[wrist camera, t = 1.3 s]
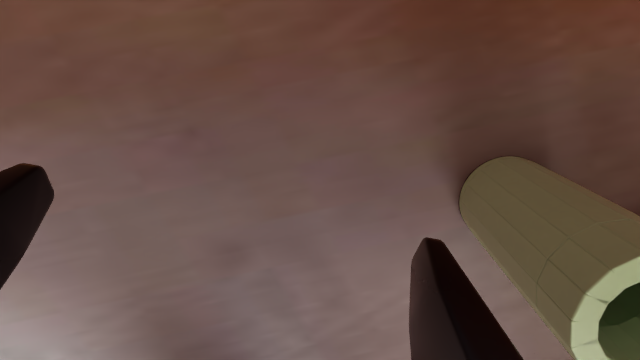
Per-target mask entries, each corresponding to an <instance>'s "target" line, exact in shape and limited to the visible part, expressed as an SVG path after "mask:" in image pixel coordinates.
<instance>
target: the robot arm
mask: <svg viewBox="0 0 640 360" xmlns="http://www.w3.org/2000/svg"><path fill="white" fill-rule="evenodd" d="M53 198H54V190H53V188H52V186H51V183H50V181H49V179H48V176H47V174H46V172H45V170H44V169H43V168H42V167H41V166H37V165H32V164H26V163H22V164H18V165H15V166H13V167H11V168H8V169H6V170H3V171H1V172H0V289H1V288H2V287H3V285H4V284H5V282H6V281H7V279H8V278H9V276H10V275H11V273H12V272H13V270H14V269H15V268H16V266H17V265H18V263H19V261H20V260H21V258H22V257H23V255H24V253H25V252H26V250H27V248H28V246H29V245H30V243H31V241H32V239H33V237H34V235H35V233H36V231H37V230H38V228H39V226H40V224H41V222H42V220H43V218H44V216H45V215H46V213H47V211H48V209H49V207H50V205H51V203H52V201H53ZM409 334H410V347H411V360H523V358H522V357H521V355H520V354H519V352H518V351H517V349H516V348H515V346H514V345H513V344H512V342H511V341H510V339H509V338H508V336H507V335H506V333H505V332H504V330H503V329H502V327H501V326H500V324H499V323H498V322H497V320H496V319H495V317H494V316H493V314H492V313H491V311H490V310H489V308H488V307H487V305H486V304H485V303H484V301H483V300H482V298H481V297H480V295H479V294H478V292H477V291H476V289H475V288H474V286H473V285H472V283H471V282H470V281H469V279H468V278H467V276H466V275H465V273H464V272H463V270H462V269H461V267H460V266H459V264H458V263H457V261H456V260H455V259H454V257H453V256H452V254H451V253H450V251H449V250H448V248H447V247H446V245H445V244H444V243H443V242H442V241H441V240H438V239H433V238H424V239H423V240H422V242H421V243H420V245H419V247H418V249H417V251H416V253H415V255H414V257H413V259H412V264H411V283H410V309H409Z"/></svg>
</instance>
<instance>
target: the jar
mask: <svg viewBox="0 0 640 360" xmlns="http://www.w3.org/2000/svg"><path fill="white" fill-rule="evenodd" d="M459 207H460V212H461V216H462V218H463V220H464V222H465V223H466V224H467V226H468V227H469V229H470V231H471V232H472V233H473V234H474V236H475V237H476V238H477V239H478V241H479V242H480V243H481V244H482V246H483V247H484V248H485V249H486V251H487V252H488V253H489V254H490V256H491V257H492V258H493V259H494V261H495V262H496V263H497V264H498V266H499V267H500V268H501V269H502V271H503V272H504V273H505V274H506V276H507V277H508V278H509V279H510V281H511V282H512V283H513V284H514V286H515V287H516V288H517V289H518V290H519V292H520V293H521V294H522V295H523V297H524V298H525V299H526V300H527V302H528V303H529V304H530V305H531V307H532V308H533V309H534V310H535V312H536V313H537V314H538V315H539V317H540V318H541V319H542V320H543V322H544V323H545V324H546V325H547V327H548V328H549V329H550V330H551V332H552V333H553V334H554V335H555V337H556V338H557V339H558V340H559V342H560V343H561V344H562V345H563V347H564V348H565V349H566V350H567V352H568V353H569V354H570V355H571V357H572V358H573V359H574V360H640V216H638V215H636V214H635V213H633V212H631V211H629V210H627V209H625V208H623V207H621V206H619V205H617V204H615V203H613V202H611V201H609V200H607V199H605V198H603V197H601V196H599V195H598V194H596V193H594V192H592V191H590V190H588V189H586V188H584V187H582V186H580V185H578V184H576V183H574V182H572V181H570V180H568V179H566V178H564V177H562V176H560V175H559V174H557V173H555V172H553V171H551V170H549V169H547V168H545V167H543V166H541V165H539V164H537V163H535V162H533V161H529V160H527V159H524V158H521V157H515V156H506V157H500V158H496V159H493V160H490V161H488V162H486V163H484V164H482V165H481V166H479V167H478V168H477V169H476V170H474V171H473V173H472V174H471V175H470V176H469V177H468V178H467V180H466V182H465V183H464V185H463V188H462V190H461V194H460V199H459Z"/></svg>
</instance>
